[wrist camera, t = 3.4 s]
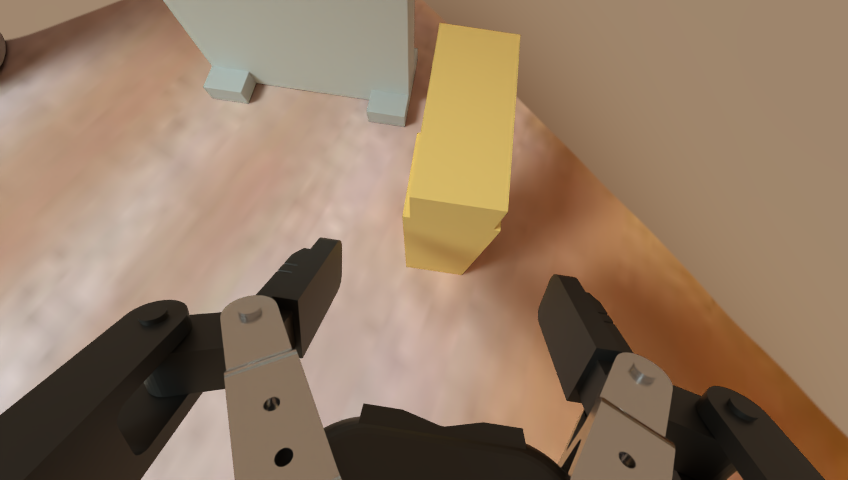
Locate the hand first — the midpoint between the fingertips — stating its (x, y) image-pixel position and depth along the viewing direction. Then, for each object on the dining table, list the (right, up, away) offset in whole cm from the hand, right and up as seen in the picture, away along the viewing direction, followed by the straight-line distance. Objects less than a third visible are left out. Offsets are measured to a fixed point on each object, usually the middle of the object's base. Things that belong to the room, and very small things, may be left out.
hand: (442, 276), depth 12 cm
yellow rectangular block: (+1, +3, +11) cm, 12 cm away
